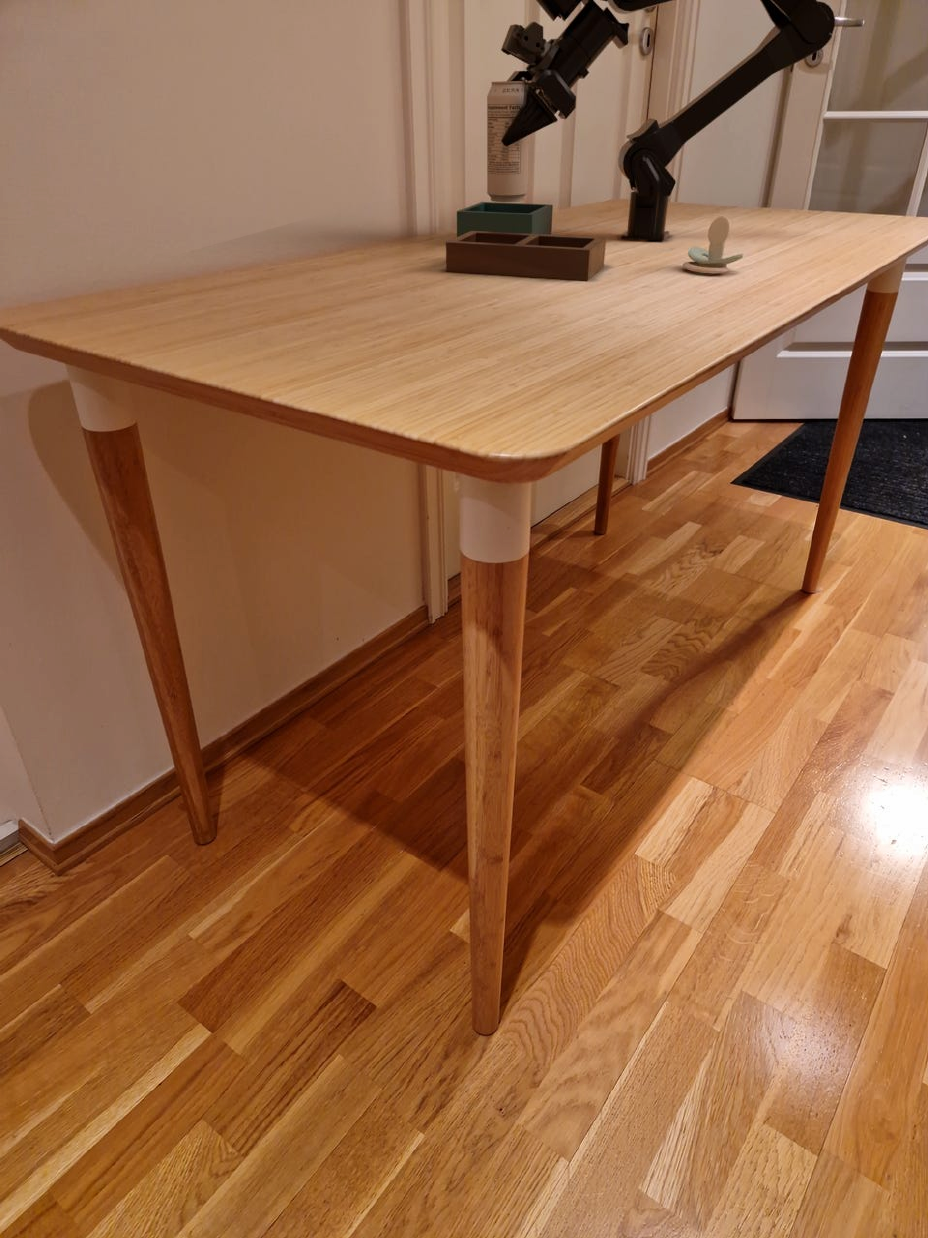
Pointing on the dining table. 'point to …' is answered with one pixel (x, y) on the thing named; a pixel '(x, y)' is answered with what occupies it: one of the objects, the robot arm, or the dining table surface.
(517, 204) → the green square tray
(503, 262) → the brown divided tray
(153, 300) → the dining table surface
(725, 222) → the pacifier
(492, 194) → the energy drink can
